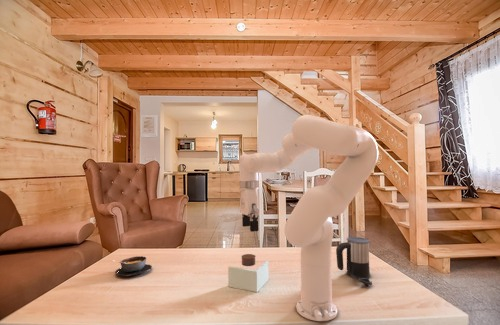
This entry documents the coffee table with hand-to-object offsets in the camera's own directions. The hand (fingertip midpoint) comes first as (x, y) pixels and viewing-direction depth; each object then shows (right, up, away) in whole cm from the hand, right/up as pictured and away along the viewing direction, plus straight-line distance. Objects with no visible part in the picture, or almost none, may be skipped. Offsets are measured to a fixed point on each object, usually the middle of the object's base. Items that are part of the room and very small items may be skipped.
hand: (250, 228), depth 105 cm
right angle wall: (0, -22, 0) cm, 22 cm away
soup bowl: (-52, -23, +12) cm, 58 cm away
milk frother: (+45, -21, +2) cm, 50 cm away
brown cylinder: (-1, -14, 0) cm, 14 cm away
